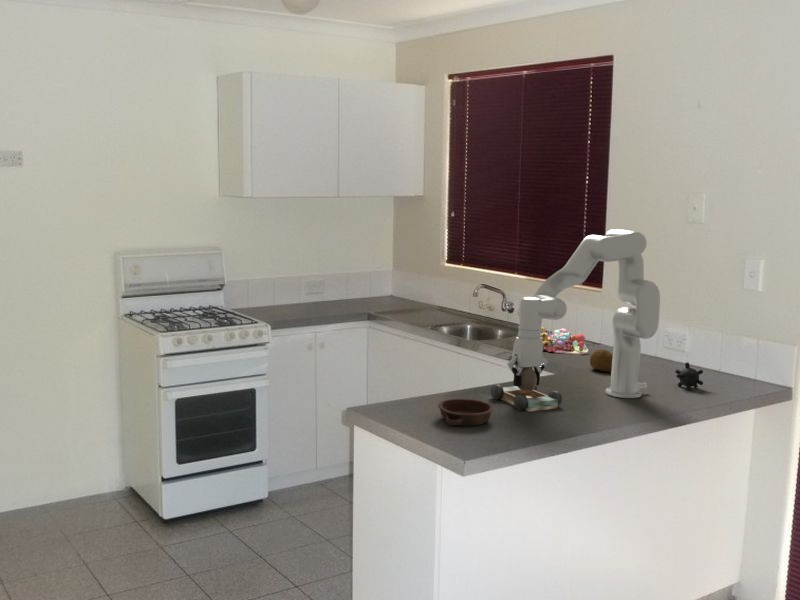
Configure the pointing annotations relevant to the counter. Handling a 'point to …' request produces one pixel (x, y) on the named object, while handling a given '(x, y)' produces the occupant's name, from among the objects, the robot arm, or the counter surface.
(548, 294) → the robot arm
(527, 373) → the brown ovoid
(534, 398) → the cart chassis
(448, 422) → the dish
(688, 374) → the toy ball
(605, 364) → the potato
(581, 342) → the pastel sphere sculpture
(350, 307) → the counter surface
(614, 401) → the counter surface
